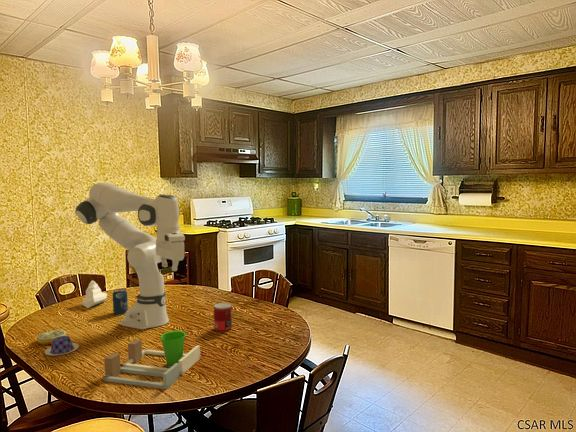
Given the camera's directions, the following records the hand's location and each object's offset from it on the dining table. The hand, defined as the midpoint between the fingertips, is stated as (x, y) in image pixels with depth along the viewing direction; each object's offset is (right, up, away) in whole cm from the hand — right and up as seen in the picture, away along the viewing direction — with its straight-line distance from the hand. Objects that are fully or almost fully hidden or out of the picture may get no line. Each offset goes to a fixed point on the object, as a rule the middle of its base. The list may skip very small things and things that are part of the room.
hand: (169, 268), depth 161 cm
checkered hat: (-43, -33, -1) cm, 54 cm away
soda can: (-38, -29, +44) cm, 65 cm away
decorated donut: (-53, -32, +8) cm, 62 cm away
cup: (+6, -33, -15) cm, 37 cm away
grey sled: (-2, -34, -26) cm, 43 cm away
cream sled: (+1, -33, -14) cm, 36 cm away
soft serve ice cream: (-59, -28, +58) cm, 88 cm away
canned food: (+18, -30, +20) cm, 40 cm away
